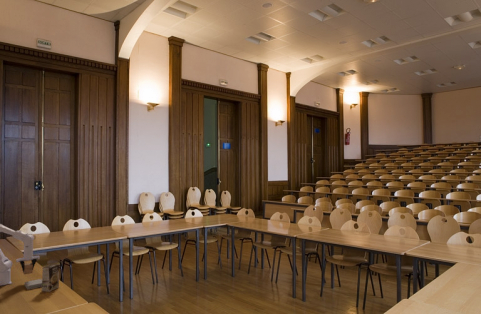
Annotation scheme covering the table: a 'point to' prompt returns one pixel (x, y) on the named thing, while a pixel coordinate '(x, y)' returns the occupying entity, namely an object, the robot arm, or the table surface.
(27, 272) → the walnut block
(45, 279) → the coffee box
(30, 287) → the grey box
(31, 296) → the table surface
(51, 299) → the table surface
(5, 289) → the table surface
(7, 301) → the table surface
